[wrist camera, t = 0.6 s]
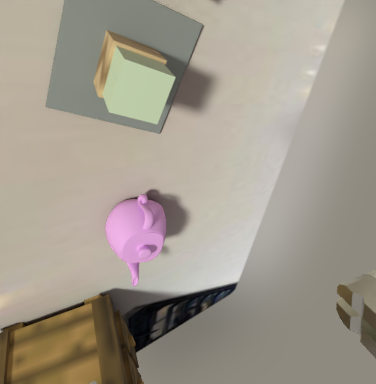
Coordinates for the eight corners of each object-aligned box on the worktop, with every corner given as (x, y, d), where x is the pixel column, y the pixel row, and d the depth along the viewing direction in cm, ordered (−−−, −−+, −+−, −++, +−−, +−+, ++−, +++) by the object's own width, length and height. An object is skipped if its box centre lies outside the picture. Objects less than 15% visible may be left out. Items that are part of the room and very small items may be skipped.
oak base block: (106, 29, 44) (113, 40, 39) (156, 49, 48) (167, 60, 44) (93, 82, 48) (98, 96, 43) (140, 96, 52) (148, 110, 47)
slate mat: (71, -39, 38) (71, -39, 38) (201, 24, 48) (202, 24, 48) (45, 105, 48) (45, 106, 47) (158, 132, 58) (159, 133, 58)
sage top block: (115, 45, 40) (124, 59, 36) (162, 62, 44) (175, 77, 39) (102, 94, 43) (108, 112, 39) (146, 107, 47) (157, 124, 43)
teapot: (108, 185, 62) (119, 225, 54) (168, 186, 68) (186, 222, 59) (98, 251, 73) (105, 292, 65) (150, 246, 79) (163, 284, 70)
